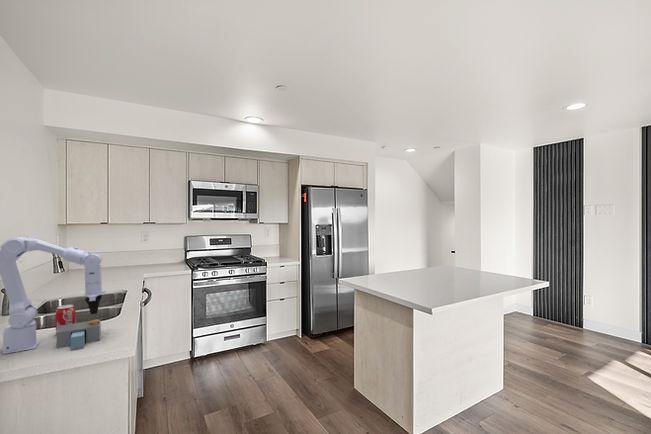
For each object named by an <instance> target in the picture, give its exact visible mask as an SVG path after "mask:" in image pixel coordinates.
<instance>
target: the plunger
mask: <svg viewBox="0 0 651 434" xmlns="http://www.w3.org/2000/svg"><path fill="white" fill-rule="evenodd" d="M99 320H100V319H97V318H96V319H92V320H89V321H90V323H91V325H93V324H98V322H99Z"/></svg>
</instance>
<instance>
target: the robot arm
mask: <svg viewBox="0 0 651 434" xmlns="http://www.w3.org/2000/svg"><path fill="white" fill-rule="evenodd" d="M34 251H40V252H45V253H49V254H53V255H55V256H60V257H62V258H63V260H64V261H66V262H69V263H74V264H77V265H80V266H82V265H83V267H84V290H85V291H84V296H85V300H84V301H85V302H86V304H87V306H88V309H89V313H90V315H97V314H98V311H99V305H100V302H101V300H102V297H103V295H102V294H105V293H106V290H102V287H103V285H102V270H101V269H102V266H101V265H102V261H103V258H102V256H101V254H100V253H97V252H92V251H89V250H88V251H85V250H82V249H79V247H78V246H74V247H72V246H69V247H67V248H64V247H62V246H59V245H56V244H53V243H50V242H47V241H44V240H42V239H38V238H34V237H29V236H25V235H21V236H18V237H12V238H8V239H7V240H5V241H4V242H3V243H2V244H1V245H0V278H1V281H2V285H3V287H4V289H5V293H6V297H7V300H8V302H9V309H8V314H9V317H8V325H9V327H6V328H5V329H3V333H2V349H3V350H2V351H3V352H2V354H3V355H7V354H11V353H17V352H18V353H19V352H22V351H29V350H34V349H36V348H37V347H38V345H39V344H40V340H37V321H36V320H35V318H37V316H38V309H37V308H36V307H35V306H34V305H33V304H32V301H31V300H29V298H28V297H27V293H26V290H25V286H24V283H23V281H22V278H21V274H20V271H19V269H18V266H17V261H18V260H19V259H20V258H21V256H22V255H23V254H25V253H27V252H34Z"/></svg>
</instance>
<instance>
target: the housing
mask: <svg viewBox="0 0 651 434" xmlns="http://www.w3.org/2000/svg"><path fill="white" fill-rule="evenodd" d="M98 320H99V322H98V324H93V325H91V323H90V321H91V320H89V321H88V320H87V321H82V322H76V323H75V324H68V325H61V326H60V327H59V329H58V331H57V333H56V334H55V335H56V349H60V348H65V347H66V348H67V347H71V335H72V333H73V332H75V331H81V330H86V341H85V344H88V343H94V342H100V340H101V334H102V333H101V332H102V331H101V328H102V327H101V325H102V324H101V319H98Z"/></svg>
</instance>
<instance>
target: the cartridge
mask: <svg viewBox="0 0 651 434" xmlns="http://www.w3.org/2000/svg"><path fill="white" fill-rule="evenodd" d="M85 344H86V330H81V331H75V332H73V333H72V335H71V346H70V351H74V350H80V349H84V348H85Z"/></svg>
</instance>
